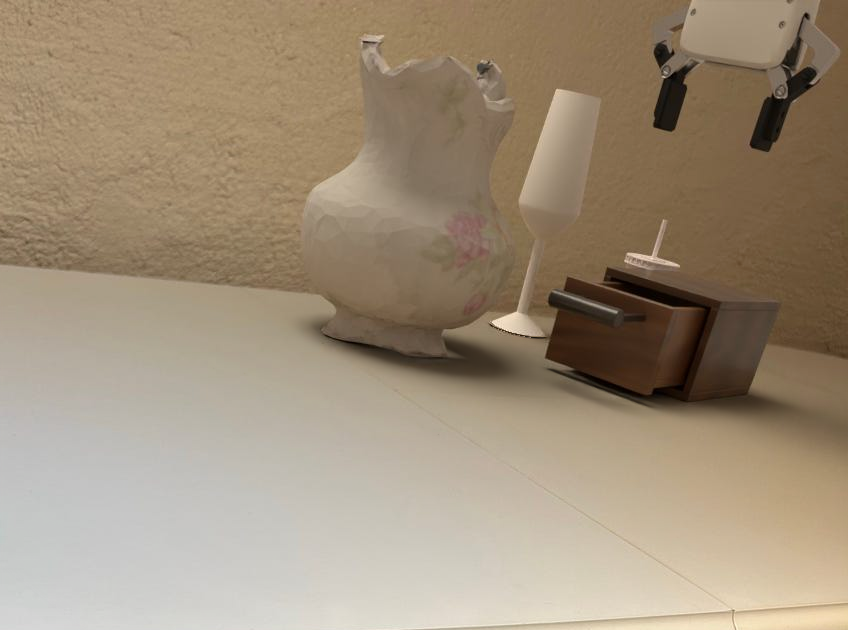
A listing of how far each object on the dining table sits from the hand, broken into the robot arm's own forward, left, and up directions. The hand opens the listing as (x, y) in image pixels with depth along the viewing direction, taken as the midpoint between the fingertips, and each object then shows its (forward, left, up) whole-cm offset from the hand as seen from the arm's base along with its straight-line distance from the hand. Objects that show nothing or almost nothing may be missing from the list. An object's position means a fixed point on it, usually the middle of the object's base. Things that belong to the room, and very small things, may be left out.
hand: (709, 139), depth 94 cm
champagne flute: (+18, -5, -22) cm, 29 cm away
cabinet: (0, -7, -22) cm, 23 cm away
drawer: (0, +4, -21) cm, 22 cm away
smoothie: (+12, -20, -22) cm, 32 cm away
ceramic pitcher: (+16, +19, -22) cm, 34 cm away
